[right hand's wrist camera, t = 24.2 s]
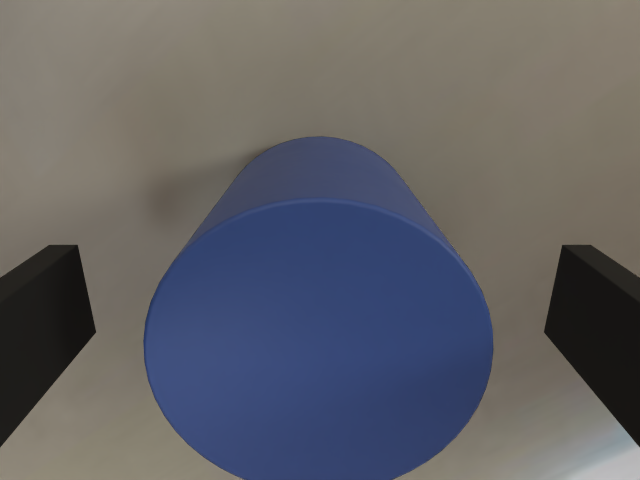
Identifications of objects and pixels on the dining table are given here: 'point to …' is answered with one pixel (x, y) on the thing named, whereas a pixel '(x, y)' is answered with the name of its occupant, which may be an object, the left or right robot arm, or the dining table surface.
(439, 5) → the dining table surface
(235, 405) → the canister
